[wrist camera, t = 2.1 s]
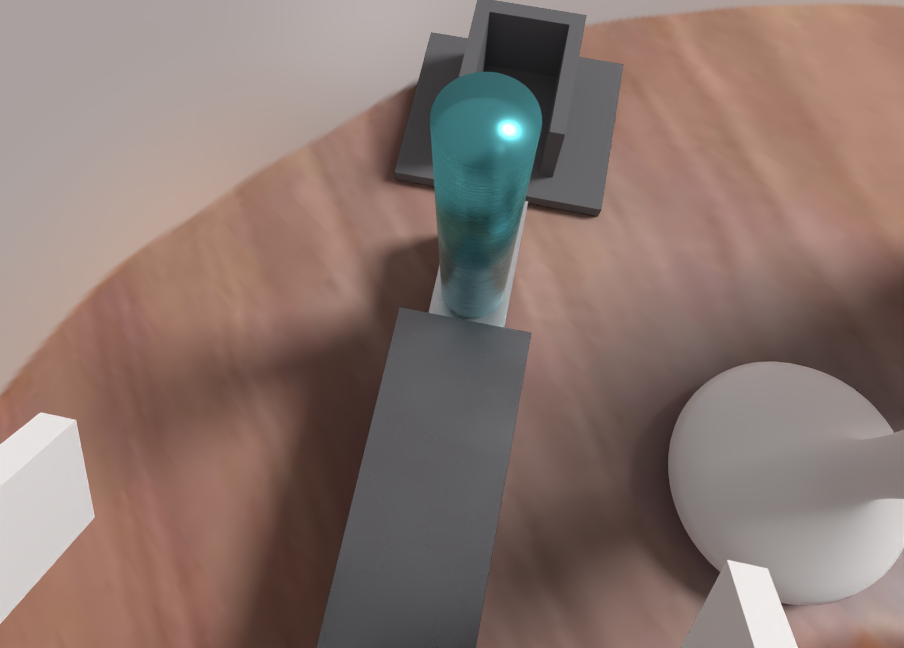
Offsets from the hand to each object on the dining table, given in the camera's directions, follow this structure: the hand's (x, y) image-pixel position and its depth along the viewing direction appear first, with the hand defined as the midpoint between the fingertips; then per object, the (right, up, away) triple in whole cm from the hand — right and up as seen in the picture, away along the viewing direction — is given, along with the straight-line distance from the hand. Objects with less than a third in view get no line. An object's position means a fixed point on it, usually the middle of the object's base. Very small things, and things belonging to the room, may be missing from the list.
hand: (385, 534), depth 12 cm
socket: (+5, +16, +25) cm, 30 cm away
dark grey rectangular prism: (0, -5, +18) cm, 19 cm away
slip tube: (+1, 0, +19) cm, 19 cm away
